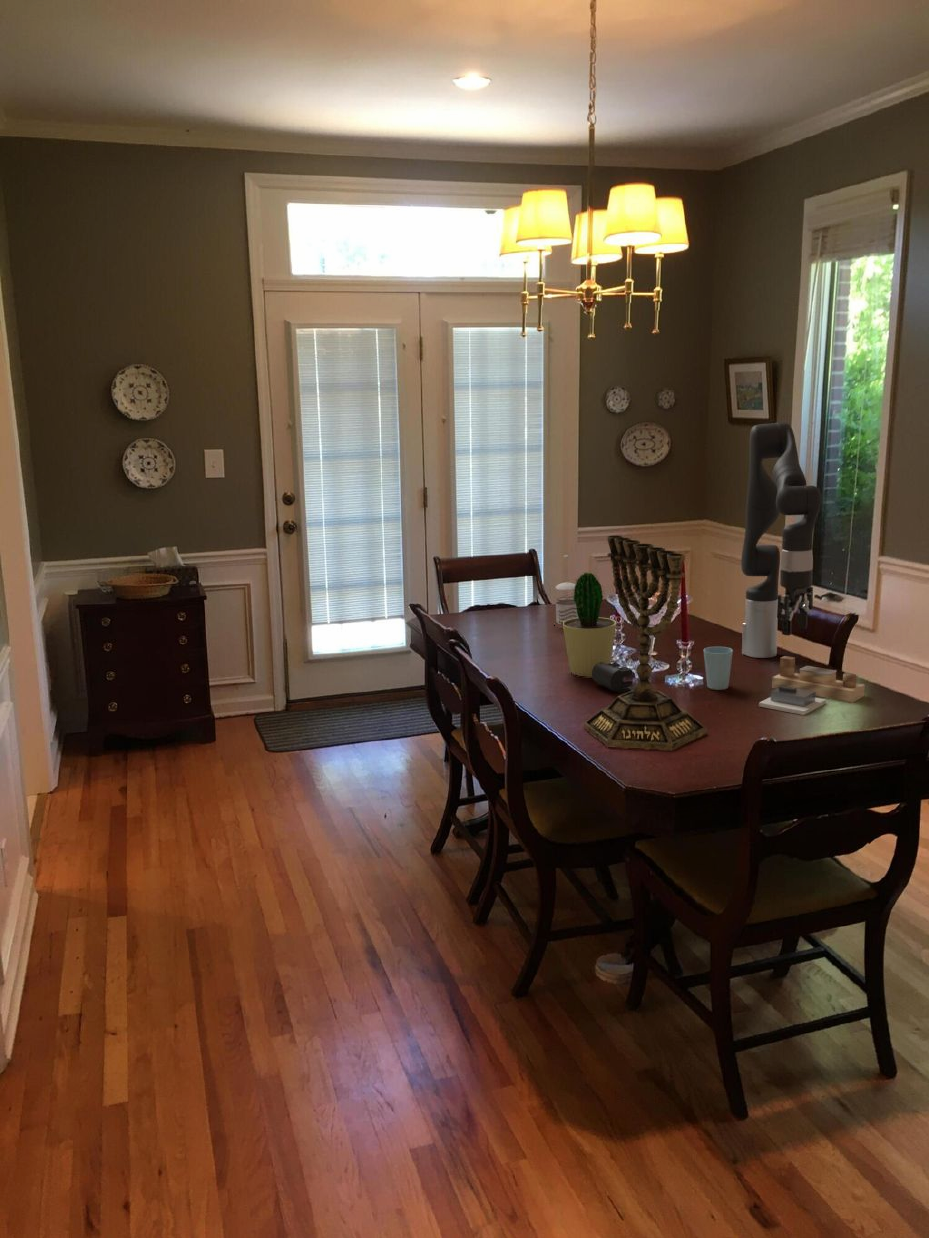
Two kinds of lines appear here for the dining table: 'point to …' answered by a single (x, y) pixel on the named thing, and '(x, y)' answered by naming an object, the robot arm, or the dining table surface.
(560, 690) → the dining table surface
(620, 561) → the menorah
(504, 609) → the dining table surface
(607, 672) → the end cap
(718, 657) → the cup
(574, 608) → the french press
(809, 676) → the plane body
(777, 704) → the bench mat
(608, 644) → the potted cactus
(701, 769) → the dining table surface
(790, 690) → the lever cap
